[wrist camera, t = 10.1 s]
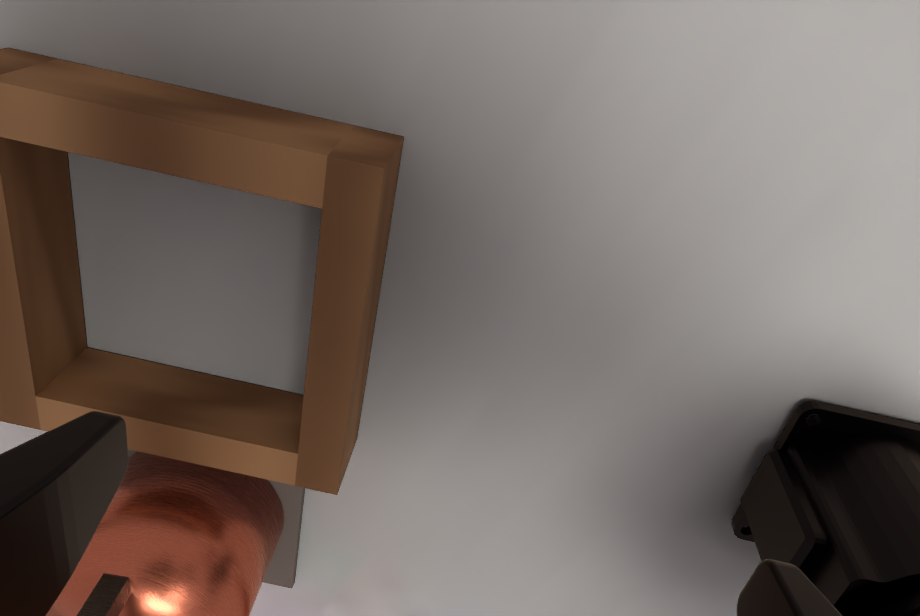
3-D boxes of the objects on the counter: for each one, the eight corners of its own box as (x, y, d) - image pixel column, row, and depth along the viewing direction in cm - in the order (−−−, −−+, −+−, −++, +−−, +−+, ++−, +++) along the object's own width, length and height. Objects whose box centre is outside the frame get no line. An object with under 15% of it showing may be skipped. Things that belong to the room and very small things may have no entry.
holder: (404, 136, 20) (384, 168, 18) (357, 438, 26) (336, 494, 24) (7, 47, 20) (-72, 66, 17) (52, 370, 26) (-2, 420, 23)
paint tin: (284, 457, 26) (163, 730, 18) (284, 573, 30) (183, 847, 21) (107, 428, 26) (-101, 686, 18) (128, 547, 30) (-36, 810, 21)
